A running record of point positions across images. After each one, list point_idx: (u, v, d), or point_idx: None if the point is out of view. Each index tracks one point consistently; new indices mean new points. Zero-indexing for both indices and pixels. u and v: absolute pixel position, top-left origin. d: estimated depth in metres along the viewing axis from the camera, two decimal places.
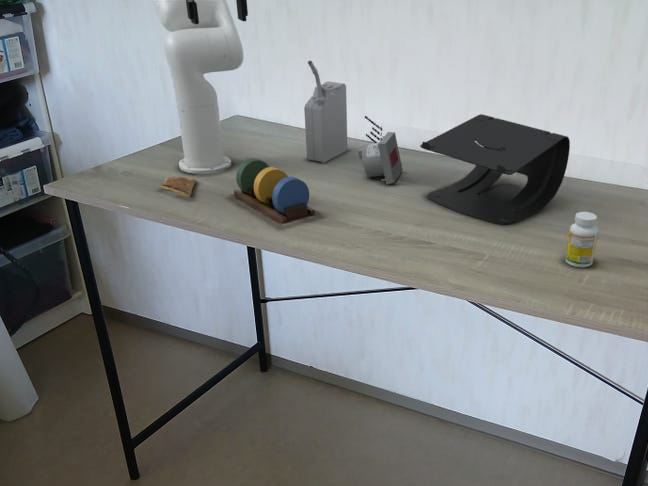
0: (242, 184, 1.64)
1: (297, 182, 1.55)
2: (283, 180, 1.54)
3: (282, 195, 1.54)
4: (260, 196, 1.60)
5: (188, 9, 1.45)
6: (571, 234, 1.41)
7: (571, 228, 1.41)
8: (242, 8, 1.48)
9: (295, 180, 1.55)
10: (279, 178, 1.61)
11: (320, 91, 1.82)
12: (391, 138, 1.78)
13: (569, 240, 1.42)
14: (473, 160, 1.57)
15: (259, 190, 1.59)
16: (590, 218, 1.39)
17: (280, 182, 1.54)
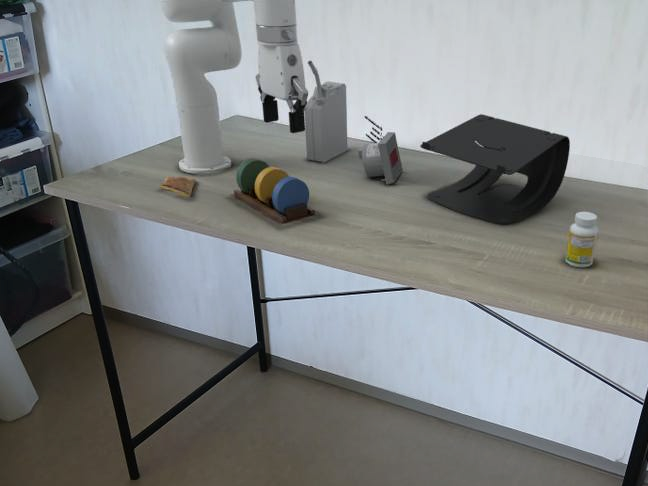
0: (242, 184, 1.64)
1: (297, 182, 1.55)
2: (283, 180, 1.54)
3: (282, 195, 1.54)
4: (261, 195, 1.60)
5: None
6: (571, 234, 1.41)
7: (571, 228, 1.41)
8: None
9: (295, 180, 1.55)
10: (280, 179, 1.61)
11: (320, 91, 1.82)
12: (391, 138, 1.78)
13: (569, 240, 1.42)
14: (473, 160, 1.57)
15: (260, 189, 1.59)
16: (590, 218, 1.39)
17: (280, 182, 1.54)
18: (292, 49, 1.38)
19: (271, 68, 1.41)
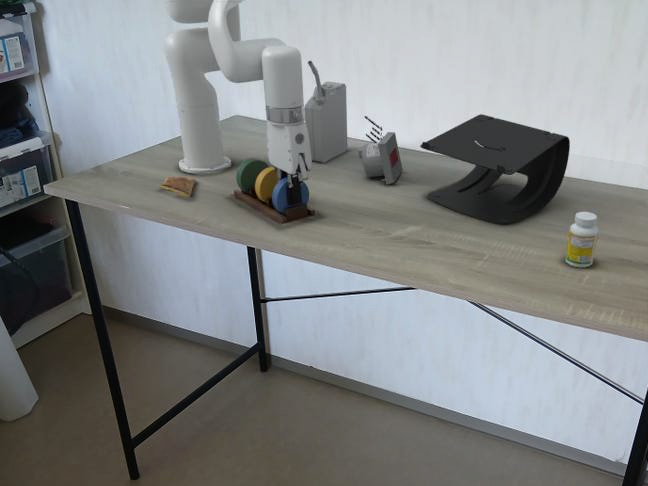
0: (242, 184, 1.64)
1: None
2: (283, 180, 1.54)
3: (281, 195, 1.54)
4: (261, 194, 1.60)
5: None
6: (571, 234, 1.41)
7: (571, 228, 1.41)
8: None
9: None
10: None
11: (320, 91, 1.82)
12: (391, 138, 1.78)
13: (569, 240, 1.42)
14: (473, 160, 1.57)
15: (260, 188, 1.59)
16: (590, 218, 1.39)
17: (280, 182, 1.54)
18: (299, 128, 1.46)
19: (279, 145, 1.49)
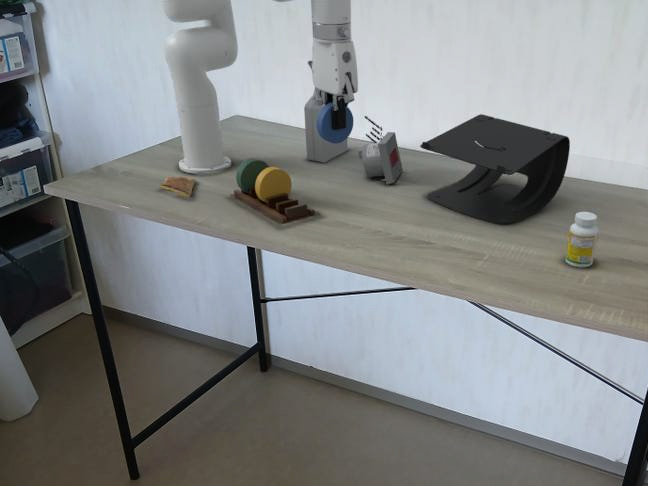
0: (242, 184, 1.64)
1: None
2: (328, 105, 1.52)
3: (326, 120, 1.52)
4: (261, 194, 1.60)
5: None
6: (571, 234, 1.41)
7: (571, 228, 1.41)
8: None
9: None
10: (281, 179, 1.61)
11: None
12: (391, 138, 1.78)
13: (569, 240, 1.42)
14: (473, 160, 1.57)
15: (260, 188, 1.59)
16: (590, 218, 1.39)
17: (325, 107, 1.52)
18: (347, 46, 1.43)
19: (325, 64, 1.46)
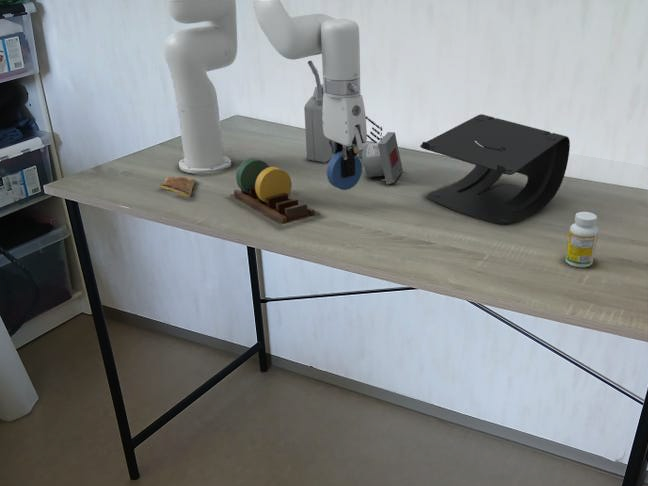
0: (242, 184, 1.64)
1: None
2: (338, 154, 1.58)
3: (336, 168, 1.58)
4: (261, 194, 1.60)
5: None
6: (571, 234, 1.41)
7: (571, 228, 1.41)
8: (342, 166, 1.59)
9: None
10: (281, 179, 1.61)
11: (320, 91, 1.82)
12: (391, 138, 1.78)
13: (569, 240, 1.42)
14: (473, 160, 1.57)
15: (260, 188, 1.59)
16: (590, 218, 1.39)
17: (335, 156, 1.58)
18: (356, 100, 1.50)
19: (336, 117, 1.52)
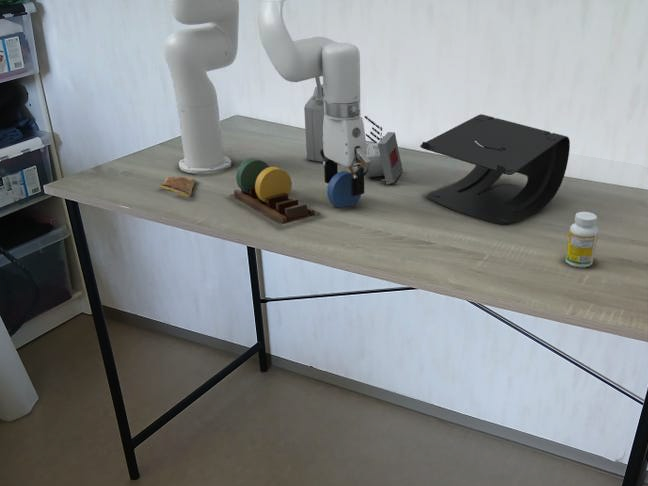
0: (242, 184, 1.64)
1: (351, 176, 1.62)
2: (338, 174, 1.61)
3: (337, 189, 1.61)
4: (261, 194, 1.60)
5: None
6: (571, 234, 1.41)
7: (571, 228, 1.41)
8: (351, 185, 1.58)
9: (349, 174, 1.61)
10: (281, 179, 1.61)
11: (320, 91, 1.82)
12: (391, 138, 1.78)
13: (569, 240, 1.42)
14: (473, 160, 1.57)
15: (260, 188, 1.59)
16: (590, 218, 1.39)
17: (335, 176, 1.61)
18: (356, 123, 1.52)
19: (336, 138, 1.55)
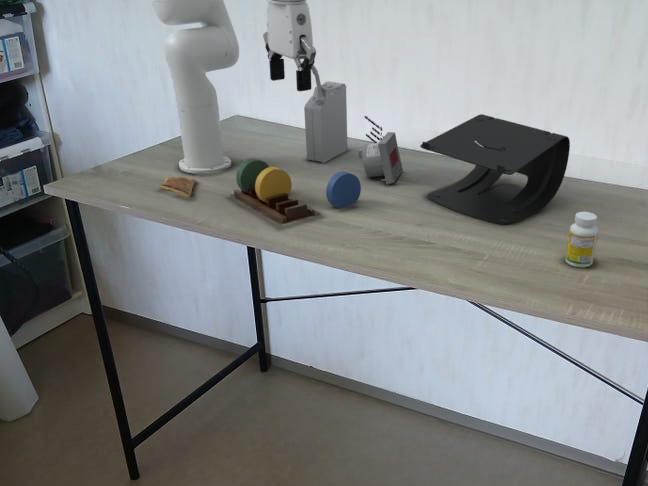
0: (242, 184, 1.64)
1: (349, 176, 1.61)
2: (336, 175, 1.60)
3: (335, 190, 1.60)
4: (261, 194, 1.60)
5: None
6: (571, 234, 1.41)
7: (571, 228, 1.41)
8: None
9: (347, 175, 1.61)
10: (281, 179, 1.61)
11: (320, 91, 1.82)
12: (391, 138, 1.78)
13: (569, 240, 1.42)
14: (473, 160, 1.57)
15: (260, 188, 1.59)
16: (590, 218, 1.39)
17: (333, 178, 1.60)
18: (301, 8, 1.43)
19: (280, 27, 1.45)
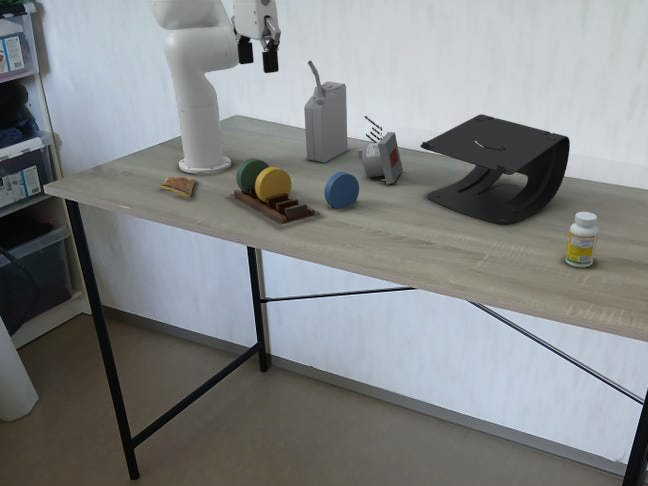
0: (242, 184, 1.64)
1: (345, 176, 1.61)
2: (332, 177, 1.60)
3: (333, 192, 1.60)
4: (261, 194, 1.60)
5: None
6: (571, 234, 1.41)
7: (571, 228, 1.41)
8: None
9: (344, 175, 1.60)
10: (281, 179, 1.61)
11: (320, 91, 1.82)
12: (391, 138, 1.78)
13: (569, 240, 1.42)
14: (473, 160, 1.57)
15: (260, 188, 1.59)
16: (590, 218, 1.39)
17: (330, 180, 1.60)
18: None
19: (245, 8, 1.45)
